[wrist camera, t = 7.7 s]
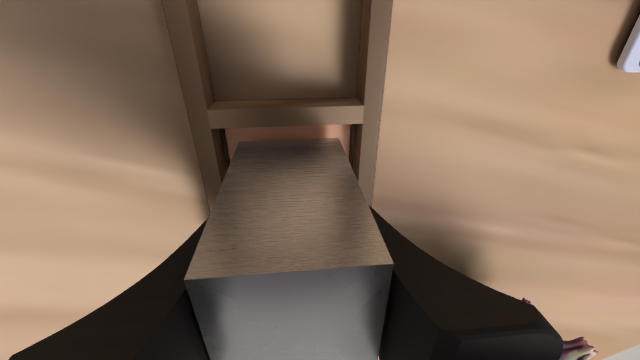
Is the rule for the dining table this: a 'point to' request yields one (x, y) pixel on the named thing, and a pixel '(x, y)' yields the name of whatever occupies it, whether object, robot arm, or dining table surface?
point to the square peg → (290, 258)
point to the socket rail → (284, 114)
